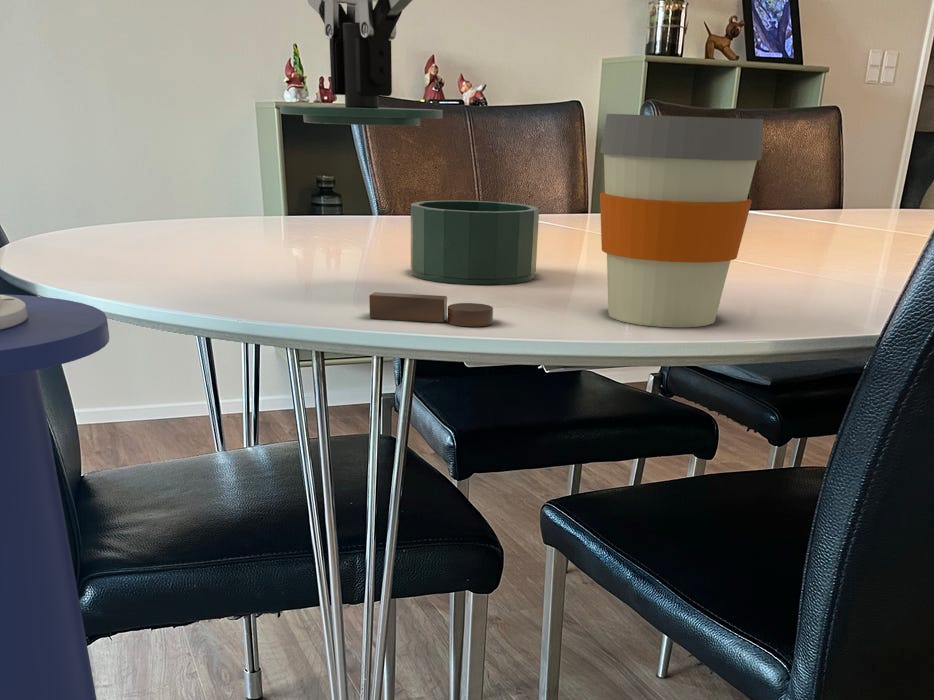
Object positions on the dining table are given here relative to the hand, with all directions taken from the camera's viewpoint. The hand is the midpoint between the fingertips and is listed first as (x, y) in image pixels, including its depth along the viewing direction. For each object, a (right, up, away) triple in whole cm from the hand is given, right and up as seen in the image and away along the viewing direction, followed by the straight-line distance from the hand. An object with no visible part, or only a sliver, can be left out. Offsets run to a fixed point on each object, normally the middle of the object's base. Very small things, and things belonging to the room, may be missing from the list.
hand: (361, 93), depth 83 cm
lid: (0, -1, +1) cm, 2 cm away
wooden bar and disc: (+7, -20, -3) cm, 21 cm away
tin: (+9, -8, +19) cm, 23 cm away
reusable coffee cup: (+25, -19, +1) cm, 31 cm away
